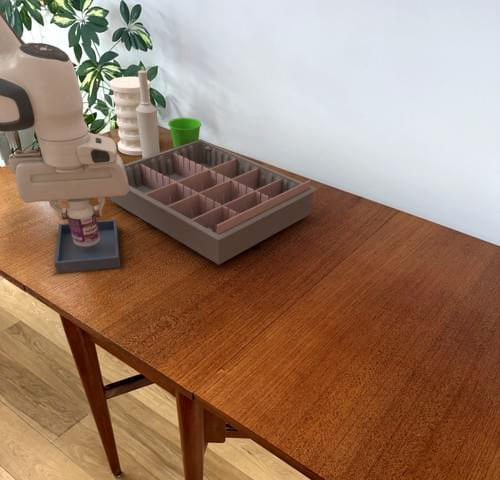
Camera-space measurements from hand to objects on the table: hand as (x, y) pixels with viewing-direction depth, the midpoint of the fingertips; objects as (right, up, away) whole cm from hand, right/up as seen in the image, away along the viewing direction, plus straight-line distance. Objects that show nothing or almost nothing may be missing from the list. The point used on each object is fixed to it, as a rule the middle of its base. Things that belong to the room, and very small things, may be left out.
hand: (82, 217), depth 94 cm
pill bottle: (0, -4, +4) cm, 6 cm away
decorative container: (0, +32, +46) cm, 56 cm away
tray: (0, -6, +5) cm, 8 cm away
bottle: (+7, +21, +34) cm, 40 cm away
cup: (+16, +25, +40) cm, 50 cm away
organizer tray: (+24, +6, +19) cm, 31 cm away
